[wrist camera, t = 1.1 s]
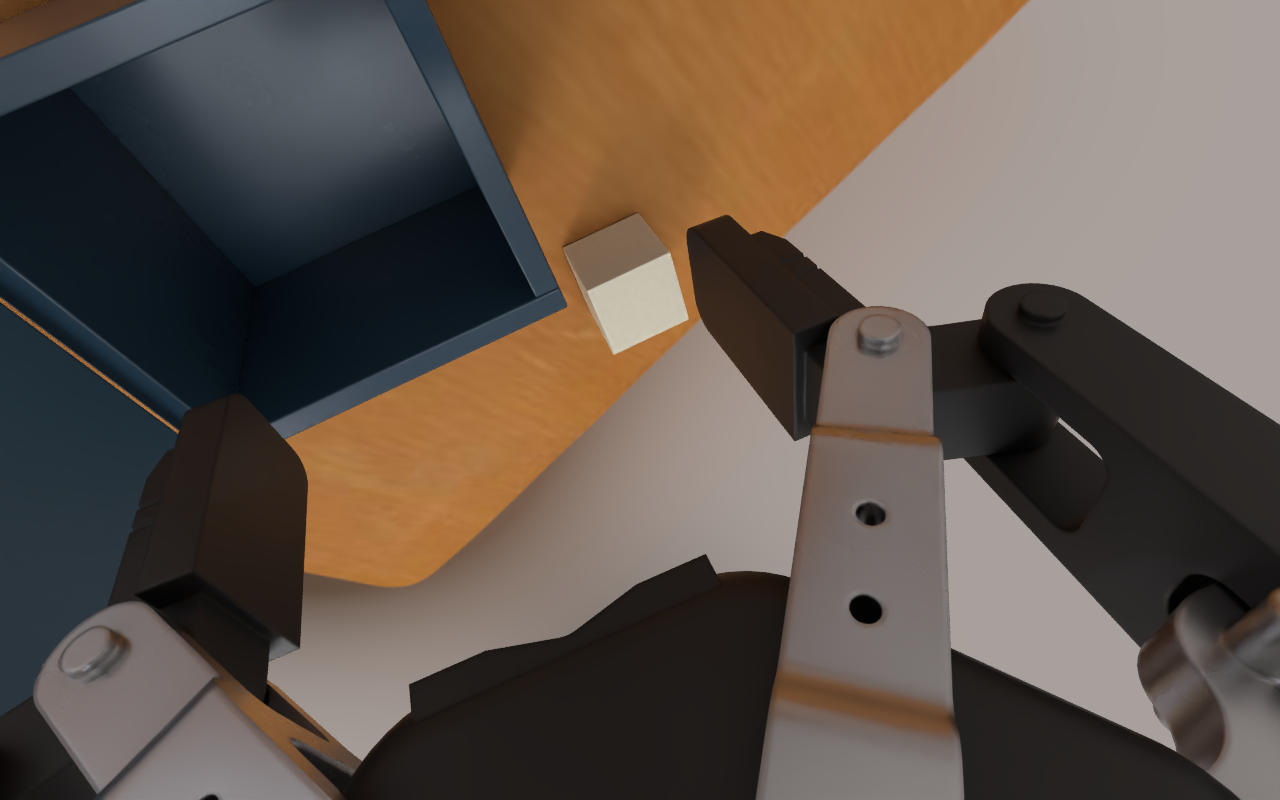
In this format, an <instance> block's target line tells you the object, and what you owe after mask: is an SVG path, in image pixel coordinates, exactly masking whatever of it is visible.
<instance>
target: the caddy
mask: <svg viewBox="0 0 1280 800" xmlns="http://www.w3.org/2000/svg"><path fill="white" fill-rule="evenodd" d="M0 298H2V299H3V300H4V301H6V302H7V303H8V304H10V305H11V306H12V307H14V308H15V309H16V310H18V311H19V312H20V313H22V314H23V315H24V316H26V317H27V318H28V319H30V320H31V321H32V322H34V323H35V324H36V325H38V326H39V327H40V328H42V329H43V330H44V331H46V332H47V333H49V334H50V335H51V336H53V337H54V338H55V339H57V340H58V341H59V342H61V343H62V344H63V345H65V346H66V347H67V348H69V349H70V350H71V351H73V352H74V353H75V354H77V355H78V356H79V357H81V358H82V359H83V360H85V361H86V362H87V363H89V364H90V365H91V366H93V367H94V368H95V369H97V370H98V371H99V372H101V373H102V374H103V375H105V376H106V377H108V378H109V379H110V380H112V381H113V382H114V383H116V384H117V385H118V386H120V387H121V388H122V389H124V390H125V391H126V392H128V393H129V394H130V395H132V396H133V397H134V398H136V399H137V400H138V401H140V402H141V403H142V404H144V405H145V406H146V407H148V408H149V409H150V410H152V411H153V412H154V413H156V414H157V415H158V416H160V417H161V418H162V419H164V420H165V421H167V422H168V423H169V424H171V425H172V426H173V427H175V428H176V429H177V430H179V429H180V426H181V422H182V419H183V416H184V414H185V412H186V411H188V410H189V409H192V408H195V407H198V406H200V405H203V404H206V403H209V402H211V401H214V400H217V399H220V398H222V397H225V396H228V395H231V394H234V393H238V394H241V395H243V396H244V397H246V398H247V399H248V400H249V401H250V402H251V403H252V404H253V405H254V406H255V407H256V409H257V410H258V411H259V412H260V413H261V414H262V415H263V416H264V417H265V419H266V420H267V421H268V422H269V423H270V424H271V425H272V426H273V427H274V429H275V430H276V431H277V432H278V433H279V434H280V435H281V436H282V437H283V439H286V438H288V437H291V436H293V435H295V434H297V433H299V432H301V431H303V430H306V429H308V428H310V427H312V426H314V425H316V424H318V423H320V422H323V421H325V420H327V419H329V418H331V417H333V416H335V415H338V414H340V413H342V412H344V411H346V410H348V409H350V408H352V407H355V406H357V405H359V404H361V403H363V402H365V401H367V400H370V399H372V398H374V397H376V396H378V395H380V394H382V393H384V392H387V391H389V390H391V389H393V388H395V387H397V386H399V385H401V384H404V383H406V382H408V381H410V380H412V379H414V378H416V377H419V376H421V375H423V374H425V373H427V372H429V371H431V370H433V369H436V368H438V367H440V366H442V365H444V364H446V363H448V362H451V361H453V360H455V359H457V358H459V357H461V356H463V355H465V354H468V353H470V352H472V351H474V350H476V349H478V348H480V347H482V346H485V345H487V344H489V343H491V342H493V341H495V340H497V339H500V338H502V337H504V336H506V335H508V334H510V333H512V332H514V331H517V330H519V329H521V328H523V327H525V326H527V325H529V324H532V323H534V322H536V321H538V320H540V319H542V318H544V317H546V316H549V315H551V314H553V313H555V312H557V311H559V310H561V309H563V308H566V307H567V303H566V301H565V299H564V296H563V294H562V292H561V290H560V288H559V286H558V284H557V281H556V279H555V277H554V275H553V273H552V271H551V268H550V266H549V264H548V262H547V260H546V258H545V256H544V253H543V251H542V249H541V247H540V245H539V243H538V240H537V238H536V236H535V234H534V232H533V230H532V228H531V225H530V223H529V221H528V219H527V217H526V215H525V212H524V210H523V208H522V206H521V204H520V202H519V200H518V197H517V195H516V193H515V191H514V189H513V187H512V184H511V182H510V180H509V178H508V176H507V174H506V172H505V169H504V167H503V165H502V163H501V161H500V159H499V156H498V154H497V152H496V150H495V148H494V146H493V144H492V141H491V139H490V137H489V135H488V133H487V131H486V128H485V126H484V124H483V122H482V120H481V118H480V116H479V113H478V111H477V109H476V107H475V105H474V103H473V100H472V98H471V96H470V94H469V92H468V90H467V88H466V85H465V83H464V81H463V79H462V77H461V75H460V73H459V70H458V68H457V66H456V64H455V62H454V60H453V57H452V55H451V53H450V51H449V49H448V47H447V45H446V42H445V40H444V38H443V36H442V34H441V32H440V29H439V27H438V25H437V23H436V21H435V19H434V17H433V14H432V12H431V10H430V8H429V6H428V4H427V1H426V0H51V1H49V2H46V3H44V4H42V5H39V6H37V7H34V8H32V9H30V10H27V11H25V12H22V13H20V14H18V15H15V16H13V17H10V18H8V19H6V20H3V21H1V22H0Z"/></svg>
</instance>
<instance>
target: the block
mask: <svg viewBox="0 0 1280 800" xmlns="http://www.w3.org/2000/svg"><path fill="white" fill-rule="evenodd" d="M563 250H564V253H565V255H566V257H567V260H568V262H569V264H570V266H571V269H572V271H573V273H574V276H575V278H576V280H577V283H578V285H579V287H580V290H581V292H582V294H583V296H584V299H585V301H586V303H587V306H588V308H589V310H590V312H591V314H592V316H593V318H594V319H595V321H596V323H597V325H598V327H599V329H600V330H601V332H602V334H603V336H604V338H605V340H606V341H607V343H608V345H609V347H610V349H611V351H612V352H613V354H617V353H619V352H621V351H623V350H625V349H627V348H629V347H631V346H634V345H636V344H638V343H640V342H642V341H644V340H646V339H648V338H650V337H652V336H655V335H657V334H659V333H661V332H663V331H665V330H667V329H669V328H671V327H674V326H676V325H678V324H680V323H682V322H684V321H686V320H688V319H689V318H688V314H687V311H686V307H685V304H684V300H683V296H682V293H681V289H680V286H679V282H678V279H677V275H676V271H675V268H674V264H673V261H672V257H671V253H670V252H669V250H668V249H667V248H666V247H665V245H664V244H663V243H662V242H661V240H660V239H659V238H658V237H657V235H656V234H655V233H654V232H653V230H652V229H651V228H650V227H649V225H648V224H647V223H646V222H645V220H644V219H643V218H642V217H641V216H640V214H639V213H636V214H634V215H632V216H630V217H628V218H625V219H623V220H621V221H619V222H617V223H615V224H613V225H610V226H608V227H606V228H604V229H602V230H600V231H597V232H595V233H593V234H591V235H589V236H587V237H584V238H582V239H580V240H578V241H576V242H574V243H572V244H569V245H567V246H565V247H563Z"/></svg>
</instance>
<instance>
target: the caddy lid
mask: <svg viewBox="0 0 1280 800" xmlns="http://www.w3.org/2000/svg"><path fill="white" fill-rule="evenodd" d="M177 436H178V434H177V433H176V432H175V431H173V430H172V429H171V428H169V427H168V426H167V425H165V424H164V423H163V422H161V421H160V420H159V419H157V418H156V417H154V416H153V415H152V414H150V413H149V412H148V411H146V410H145V409H144V408H142V407H141V406H140V405H138V404H137V403H136V402H134V401H133V400H132V399H130V398H129V397H127V396H126V395H125V394H123V393H122V392H121V391H119V390H118V389H117V388H115V387H114V386H113V385H111V384H110V383H109V382H107V381H106V380H104V379H103V378H102V377H100V376H99V375H98V374H96V373H95V372H94V371H92V370H91V369H90V368H88V367H87V366H86V365H84V364H83V363H82V362H80V361H79V360H77V359H76V358H75V357H73V356H72V355H71V354H69V353H68V352H67V351H65V350H64V349H63V348H61V347H60V346H59V345H57V344H56V343H55V342H53V341H52V340H50V339H49V338H48V337H46V336H45V335H44V334H42V333H41V332H40V331H38V330H37V329H36V328H34V327H33V326H32V325H30V324H29V323H27V322H26V321H25V320H23V319H22V318H21V317H19V316H18V315H17V314H15V313H14V312H13V311H11V310H10V309H9V308H7V307H6V306H5V305H3V304H2V303H0V717H1V716H2V715H4V714H5V713H7V712H8V711H10V710H11V709H13V708H14V707H16V706H17V705H19V704H20V703H22V702H23V701H25V700H26V699H28V698H29V697H31V696H32V695H33V690H34V684H35V681H36V678H37V675H38V673H39V671H40V669H41V667H42V666H43V664H44V662H45V661H46V659H47V658H48V656H49V655H50V654H51V652H52V651H53V650H54V648H55V647H56V646H57V645H58V644H59V643H60V642H61V641H62V639H63V638H64V637H65V636H66V635H68V634H69V633H70V632H71V631H72V630H73V629H74V628H75V627H77V626H78V625H79V624H80V623H82V622H83V621H84V620H86V619H87V618H89V617H90V616H92V615H93V614H95V613H97V612H99V611H101V610H103V609H105V608H107V605H108V602H109V599H110V595H111V592H112V589H113V586H114V582H115V579H116V576H117V573H118V569H119V566H120V563H121V560H122V557H123V553H124V550H125V547H126V544H127V540H128V537H129V534H130V533H131V532H133V528H132V524H133V521H134V518H135V515H136V511H137V510H140V507H139V506H138V505H139V502H140V498H141V495H142V492H143V489H144V485H145V482H146V479H147V477H148V476H149V475H150V473H151V472H152V471H153V469H154V468H155V466H156V465H157V464H158V462H159V461H160V460H161V458H162V457H163V455H164V454H165V453H166V451H168V450H170V449H173V448H174V447H175V444H176V440H177Z"/></svg>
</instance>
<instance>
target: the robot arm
mask: <svg viewBox="0 0 1280 800" xmlns="http://www.w3.org/2000/svg"><path fill="white" fill-rule="evenodd" d="M687 246H688V253H689V260H690V266H691V273H692V280H693V287H694V293H695V300H696V304H697V308H698V311H699V314H700V316H701V319H702V321H703V323H704V325H705V326H706V328H707V330H708V331H709V332H710V334H711V335H712V336H713V337H714V339H715V340H716V341H717V343H718V344H719V345H720V346H721V348H722V349H723V350H724V351H725V353H726V354H727V355H728V357H729V358H730V359H731V360H732V362H733V363H734V364H735V366H736V367H737V368H738V369H739V371H740V372H741V373H742V375H743V376H744V377H745V378H746V380H747V381H748V382H749V383H750V385H751V386H752V387H753V389H754V390H755V391H756V392H757V394H758V395H759V396H760V397H761V399H762V400H763V401H764V403H765V404H766V405H767V406H768V408H769V409H770V410H771V411H772V413H773V414H774V415H775V417H776V418H777V419H778V421H779V422H780V423H781V424H782V426H783V427H784V428H785V429H786V430H787V432H788V433H789V435H791V437H792V438H793V440H794V441H797V440H799V439H802V438H804V437H806V436H808V435H811V437H810V444H809V451H808V458H807V465H806V472H805V479H804V486H803V493H802V500H801V507H800V514H799V521H798V528H797V536H796V542H795V549H794V557H793V563H792V570H791V577H787V576H783V575H778V574H772V573H767V572H753V571H739V572H726V573H719V574H716V572H715V571H714V569H713V567H712V565H711V563H710V561H709V559H708V557H707V555H706V554H705V555H702V556H700V557H698V558H695V559H693V560H691V561H689V562H686V563H684V564H682V565H679V566H677V567H675V568H673V569H670V570H668V571H666V572H664V573H661V574H659V575H657V576H654V577H652V578H650V579H648V580H645V581H643V582H641V583H639V584H637V585H635V586H634V587H632V588H631V589H630V590H628V591H627V592H626V593H624V594H623V595H622V596H620V597H619V598H618V599H616V600H615V601H614V602H613V603H611V604H610V605H609V606H607V607H606V608H605V609H603V610H602V611H601V612H599V613H598V614H597V615H595V616H594V617H593V618H591V619H590V620H589V621H587V622H586V623H585V624H583V625H582V626H581V627H580V628H578V629H577V630H575V631H574V632H573V633H571V634H569V635H567V636H564V637H560V638H556V639H550V640H544V641H539V642H533V643H527V644H522V645H516V646H510V647H505V648H500V649H493V650H488V651H484V652H482V653H480V654H477V655H475V656H473V657H471V658H468V659H466V660H464V661H461V662H459V663H457V664H455V665H452V666H450V667H448V668H445V669H443V670H441V671H439V672H436V673H434V674H432V675H430V676H427V677H425V678H423V679H421V680H418V681H416V682H414V683H411V684H409V689H410V702H411V712H410V713H409V714H407V715H406V716H405V717H404V718H402V719H401V720H400V721H399V722H398V723H397V724H396V725H395V726H394V727H393V728H392V729H390V730H389V731H388V732H387V733H386V734H385V735H384V736H383V738H382V739H381V740H380V741H379V742H378V743H377V744H376V745H375V746H374V748H372V750H371V751H370V752H369V753H368V755H367V756H366V757H365V759H364V760H363V761H361V760H360V759H358V758H357V757H356V756H354V755H353V754H352V753H351V752H349V751H348V750H347V749H346V748H345V747H344V746H342V745H341V744H340V743H339V742H338V741H337V740H336V739H335V738H334V737H332V736H331V735H330V734H329V733H328V732H327V731H326V730H325V729H323V728H322V727H321V726H320V725H319V724H318V723H317V722H316V721H315V720H313V718H311V717H310V716H309V715H308V714H307V713H306V712H305V711H304V710H303V709H302V708H300V707H299V706H298V705H297V704H296V703H295V702H294V701H292V699H290V698H289V697H288V696H287V695H286V694H285V693H284V692H283V691H282V690H280V689H279V688H278V687H277V686H276V685H274V684H273V683H271V682H269V681H268V680H267V674H268V662H269V661H272V660H274V659H276V658H279V657H281V656H284V655H286V654H288V653H291V652H293V651H296V650H298V649H300V636H301V616H302V595H303V575H304V554H305V534H306V513H307V493H308V481H307V475H306V472H305V469H304V466H303V464H302V462H301V460H300V458H299V456H298V455H297V454H296V452H295V451H294V450H293V449H292V447H291V446H290V445H289V444H288V443H287V442H286V441H285V440H284V439H283V437H282V436H281V435H280V434H279V433H278V432H277V431H276V430H275V429H274V427H273V426H272V425H271V424H270V423H269V422H268V421H267V420H266V419H265V417H264V416H263V415H262V414H261V413H260V412H259V411H258V410H257V409H256V407H255V406H254V405H253V404H252V403H251V402H250V401H249V400H248V399H247V398H246V397H244V396H243V395H241V394H238V393H234V394H231V395H228V396H225V397H222V398H220V399H217V400H214V401H211V402H209V403H206V404H203V405H200V406H198V407H195V408H192V409H189V410H188V411H186V412H185V414H184V416H183V419H182V422H181V426H180V429H179V433H178V436H177V440H176V444H175V447H174V448H173V449H170V450H168V451H166V453H165V454H164V455H163V457H162V458H161V460H160V461H159V462H158V464H157V465H156V466H155V468H154V469H153V471H152V472H151V473H150V475H149V476H148V477H147V479H146V482H145V485H144V489H143V492H142V495H141V498H140V502H139V505H138V506H139V507H140V510H137V511H136V515H135V518H134V521H133V524H132V528H133V532H131V533H130V534H129V537H128V540H127V544H126V547H125V550H124V553H123V557H122V560H121V563H120V566H119V569H118V573H117V576H116V579H115V582H114V586H113V589H112V592H111V595H110V599H109V602H108V605H107V608H105V609H103V610H101V611H99V612H97V613H95V614H93V615H92V616H90V617H89V618H87V619H86V620H84V621H83V622H82V623H80V624H79V625H78V626H77V627H75V628H74V629H73V630H72V631H71V632H70V633H69V634H68V635H66V636H65V637H64V638H63V639H62V641H61V642H60V643H59V644H58V645H57V646H56V647H55V648H54V650H53V651H52V652H51V654H50V655H49V656H48V658H47V659H46V661H45V662H44V664H43V666H42V667H41V669H40V671H39V673H38V675H37V678H36V681H35V684H34V690H33V695H32V696H31V697H29V698H28V699H26V700H25V701H23V702H22V703H20V704H19V705H17V706H16V707H14V708H13V709H11V710H10V711H8V712H7V713H5V714H4V715H2V716H1V717H0V800H1280V425H1279V424H1278V423H1276V422H1275V421H1273V420H1272V419H1270V418H1269V417H1267V416H1265V415H1264V414H1263V413H1261V412H1259V411H1258V410H1256V409H1255V408H1253V407H1252V406H1250V405H1249V404H1247V403H1246V402H1244V401H1242V400H1241V399H1239V398H1238V397H1236V396H1235V395H1233V394H1232V393H1230V392H1229V391H1227V390H1226V389H1224V388H1223V387H1221V386H1219V385H1218V384H1216V383H1215V382H1214V381H1212V380H1210V379H1209V378H1207V377H1206V376H1204V375H1203V374H1201V373H1200V372H1198V371H1197V370H1195V369H1194V368H1192V367H1191V366H1189V365H1187V364H1186V363H1184V362H1183V361H1181V360H1180V359H1178V358H1177V357H1175V356H1174V355H1172V354H1171V353H1169V352H1168V351H1166V350H1164V349H1163V348H1161V347H1160V346H1158V345H1157V344H1155V343H1154V342H1152V341H1151V340H1149V339H1148V338H1146V337H1145V336H1143V335H1141V334H1140V333H1138V332H1137V331H1135V330H1134V329H1132V328H1130V327H1129V326H1128V325H1126V324H1125V323H1123V322H1121V321H1120V320H1118V319H1117V318H1115V317H1114V316H1112V315H1111V314H1109V313H1108V312H1106V311H1105V310H1103V309H1102V308H1100V307H1099V306H1097V305H1095V304H1094V303H1092V302H1091V301H1089V300H1088V299H1086V298H1085V297H1083V296H1081V295H1080V294H1078V293H1076V292H1073V291H1071V290H1069V289H1065V288H1062V287H1058V286H1054V285H1048V284H1037V283H1036V284H1034V283H1029V284H1018V285H1013V286H1009V287H1006V288H1003V289H1001V290H999V291H997V292H996V293H994V294H993V295H992V296H991V297H990V298H989V299H988V301H987V302H986V305H985V309H984V313H983V317H982V319H979V320H972V321H965V322H958V323H951V324H944V325H937V326H926V325H925V323H924V322H923V321H921V320H920V319H919V318H917V317H916V316H914V315H913V314H911V313H909V312H906V311H904V310H900V309H897V308H892V307H884V306H871V307H865V306H864V305H863V304H862V303H860V302H859V301H858V300H857V299H856V298H855V297H853V296H852V295H851V294H850V293H849V292H847V291H846V290H845V289H844V288H843V287H841V286H840V285H839V284H838V283H837V282H836V281H835V280H833V279H832V278H831V277H830V276H829V275H828V274H826V273H825V272H824V271H823V270H822V269H818V268H817V265H816V264H815V263H813V262H812V261H811V260H810V259H809V258H807V257H804V255H803V253H802V252H800V251H799V250H798V249H797V248H796V247H795V246H793V245H792V244H791V243H790V242H789V241H787V240H786V239H783V238H781V237H778V236H775V235H772V234H769V233H766V232H763V231H760V232H757V233H755V234H752V235H750V234H749V233H748V232H747V231H746V230H745V229H744V228H742V227H741V226H740V225H739V224H738V223H737V222H736V221H735V220H734V219H733V218H732V217H730V216H729V215H724V216H721V217H718V218H716V219H713V220H710V221H708V222H705V223H702V224H699V225H697V226H694V227H691V228H689V229H688V230H687ZM1059 417H1060V418H1061V419H1062V420H1063V421H1064V422H1065V423H1067V424H1068V425H1069V426H1070V427H1071V428H1073V429H1074V430H1075V431H1076V432H1077V433H1078V434H1080V435H1081V436H1082V437H1083V438H1084V439H1086V440H1087V441H1088V442H1089V443H1090V444H1091V445H1092V446H1093V447H1094V448H1095V449H1096V450H1097V451H1098V453H1099V454H1100V456H1101V457H1102V459H1103V460H1102V459H1101V458H1099V457H1098V456H1097V455H1096V454H1095V453H1094V452H1092V451H1091V450H1090V449H1089V448H1088V447H1087V446H1085V445H1084V444H1083V443H1082V442H1081V441H1080V440H1078V439H1077V438H1076V437H1075V436H1074V435H1073V434H1072V433H1070V432H1069V431H1068V430H1067V429H1066V428H1065V427H1064V426H1062V425H1061V424H1060V423H1059V422H1058V419H1059ZM957 458H964V459H965V460H966V461H967V462H968V463H969V465H971V467H972V468H973V469H974V470H975V471H976V472H977V473H978V474H979V475H980V476H981V477H982V478H983V480H984V481H985V482H986V483H987V484H988V485H989V486H990V487H991V488H992V489H993V490H994V491H995V492H996V493H997V495H998V496H999V497H1000V498H1001V499H1002V500H1003V501H1004V502H1005V503H1006V504H1007V505H1008V506H1009V507H1010V508H1011V510H1012V511H1013V512H1014V513H1015V514H1016V515H1017V516H1018V517H1019V518H1020V519H1021V520H1022V521H1023V522H1024V523H1025V525H1026V526H1027V527H1028V528H1030V530H1031V531H1032V532H1033V533H1034V534H1035V535H1036V536H1037V537H1038V538H1039V540H1040V541H1041V542H1042V543H1043V544H1044V545H1045V546H1046V547H1047V548H1048V549H1049V550H1050V551H1051V552H1052V553H1053V555H1054V556H1055V557H1056V558H1057V559H1058V560H1059V561H1060V562H1061V563H1062V564H1063V565H1064V566H1065V567H1066V568H1067V569H1068V570H1069V572H1070V573H1071V574H1072V575H1073V576H1074V577H1075V578H1076V579H1077V580H1078V581H1079V582H1080V583H1081V584H1082V586H1083V587H1084V588H1085V589H1086V590H1087V591H1088V592H1089V593H1090V594H1091V595H1092V596H1093V597H1094V598H1095V600H1096V601H1097V602H1098V603H1099V604H1100V605H1101V606H1102V607H1103V608H1104V609H1105V610H1106V611H1107V612H1108V613H1109V614H1110V615H1111V617H1112V618H1113V619H1114V620H1115V621H1116V622H1117V623H1118V624H1119V625H1120V626H1121V627H1122V628H1123V629H1124V631H1125V632H1126V633H1127V634H1128V635H1129V636H1130V637H1131V638H1132V639H1133V640H1134V641H1135V642H1136V643H1137V644H1138V646H1139V647H1140V648H1141V649H1140V652H1139V655H1138V663H1137V667H1138V674H1139V678H1140V681H1141V684H1142V686H1143V688H1144V690H1145V692H1146V694H1147V696H1148V698H1149V699H1150V700H1151V702H1152V704H1153V708H1154V711H1155V714H1156V715H1157V718H1158V719H1159V720H1160V722H1161V723H1162V724H1163V725H1164V726H1165V727H1166V728H1167V729H1168V730H1170V732H1171V734H1172V737H1173V740H1174V743H1175V745H1176V751H1177V752H1175V751H1174V750H1172V749H1170V748H1168V747H1166V746H1164V745H1162V744H1160V743H1158V742H1156V741H1154V740H1152V739H1150V738H1148V737H1145V736H1143V735H1141V734H1139V733H1137V732H1134V731H1132V730H1130V729H1128V728H1126V727H1123V726H1121V725H1119V724H1117V723H1114V722H1112V721H1110V720H1108V719H1106V718H1104V717H1101V716H1099V715H1097V714H1095V713H1093V712H1090V711H1088V710H1086V709H1084V708H1082V707H1079V706H1077V705H1075V704H1073V703H1071V702H1068V701H1066V700H1064V699H1062V698H1060V697H1057V696H1055V695H1053V694H1051V693H1049V692H1046V691H1044V690H1042V689H1040V688H1038V687H1035V686H1033V685H1031V684H1029V683H1027V682H1024V681H1022V680H1020V679H1018V678H1016V677H1013V676H1011V675H1009V674H1007V673H1004V672H1002V671H1000V670H998V669H995V668H993V667H991V666H989V665H986V664H985V663H983V662H980V661H978V660H976V659H974V658H972V657H969V656H967V655H965V654H963V653H961V652H958V651H956V650H954V649H952V648H951V643H950V618H949V592H948V567H947V540H946V516H945V515H946V514H945V489H944V464H943V460H949V459H957Z"/></svg>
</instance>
